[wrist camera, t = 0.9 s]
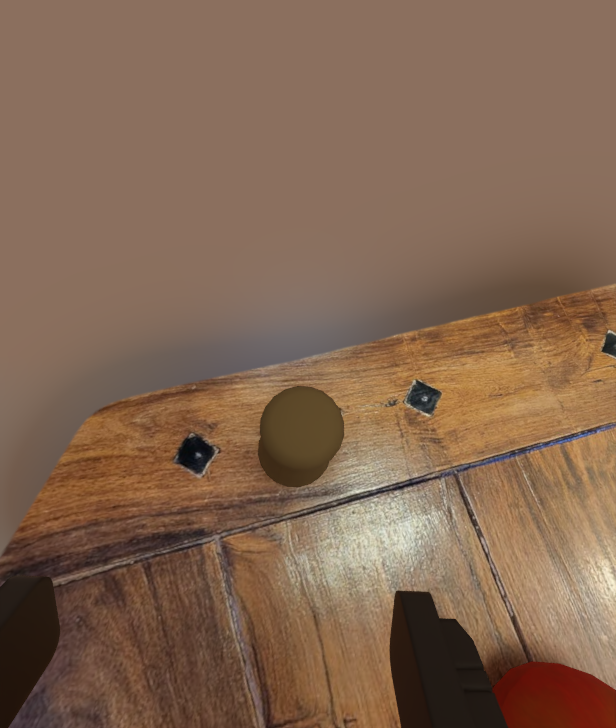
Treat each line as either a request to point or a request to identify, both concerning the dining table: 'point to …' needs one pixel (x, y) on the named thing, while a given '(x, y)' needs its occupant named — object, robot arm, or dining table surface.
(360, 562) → the dining table surface
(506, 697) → the apple
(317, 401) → the cork
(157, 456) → the dining table surface
